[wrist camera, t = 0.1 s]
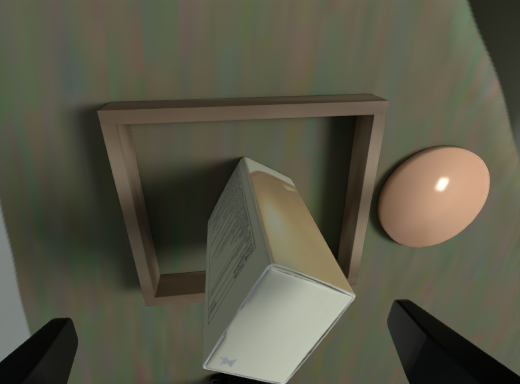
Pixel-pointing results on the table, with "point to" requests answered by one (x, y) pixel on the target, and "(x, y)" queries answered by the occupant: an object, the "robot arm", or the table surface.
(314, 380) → the table surface
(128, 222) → the brown wooden frame
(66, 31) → the table surface
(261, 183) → the skincare box
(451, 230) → the peach flat disc
